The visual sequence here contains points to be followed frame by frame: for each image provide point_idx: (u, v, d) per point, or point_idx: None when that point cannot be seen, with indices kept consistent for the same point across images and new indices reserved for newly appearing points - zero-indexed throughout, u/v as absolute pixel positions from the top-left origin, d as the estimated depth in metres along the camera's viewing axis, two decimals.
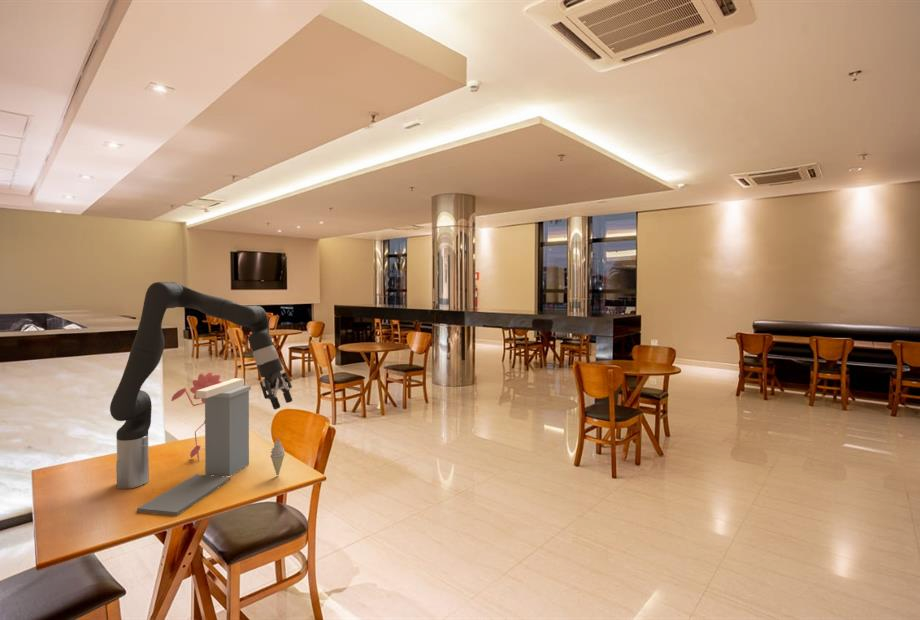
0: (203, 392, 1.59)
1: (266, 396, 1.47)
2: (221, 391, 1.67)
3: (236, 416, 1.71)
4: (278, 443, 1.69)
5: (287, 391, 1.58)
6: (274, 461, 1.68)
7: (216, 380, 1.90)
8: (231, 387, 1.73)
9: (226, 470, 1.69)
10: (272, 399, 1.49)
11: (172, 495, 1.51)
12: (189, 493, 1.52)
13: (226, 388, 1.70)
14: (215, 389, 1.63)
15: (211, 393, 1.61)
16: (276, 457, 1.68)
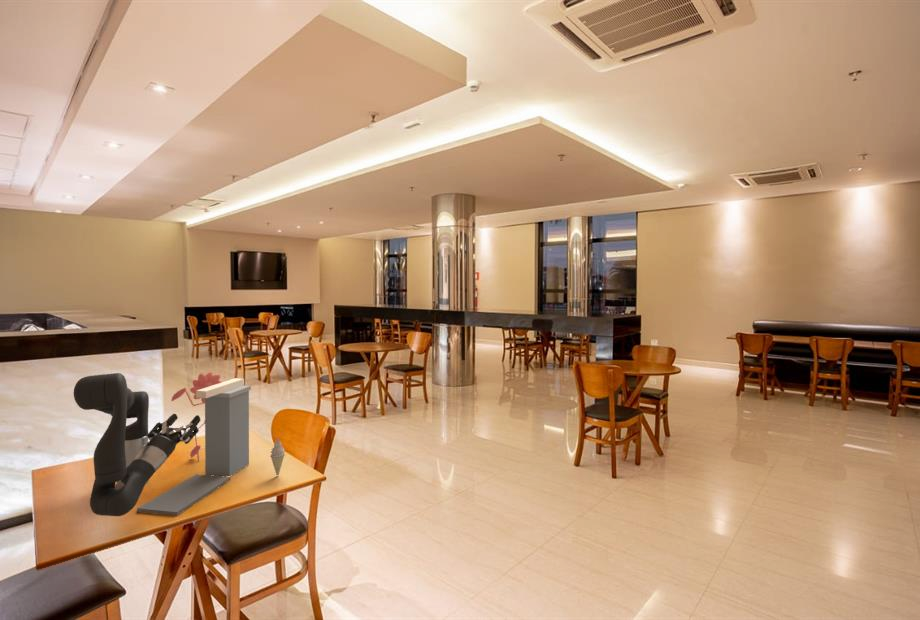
0: (203, 392, 1.59)
1: None
2: (221, 391, 1.67)
3: (236, 416, 1.71)
4: (278, 443, 1.69)
5: None
6: (274, 461, 1.68)
7: (216, 380, 1.90)
8: (231, 387, 1.73)
9: (226, 470, 1.69)
10: None
11: (172, 495, 1.51)
12: (189, 493, 1.52)
13: (226, 388, 1.70)
14: (215, 389, 1.63)
15: (211, 393, 1.61)
16: (276, 457, 1.68)
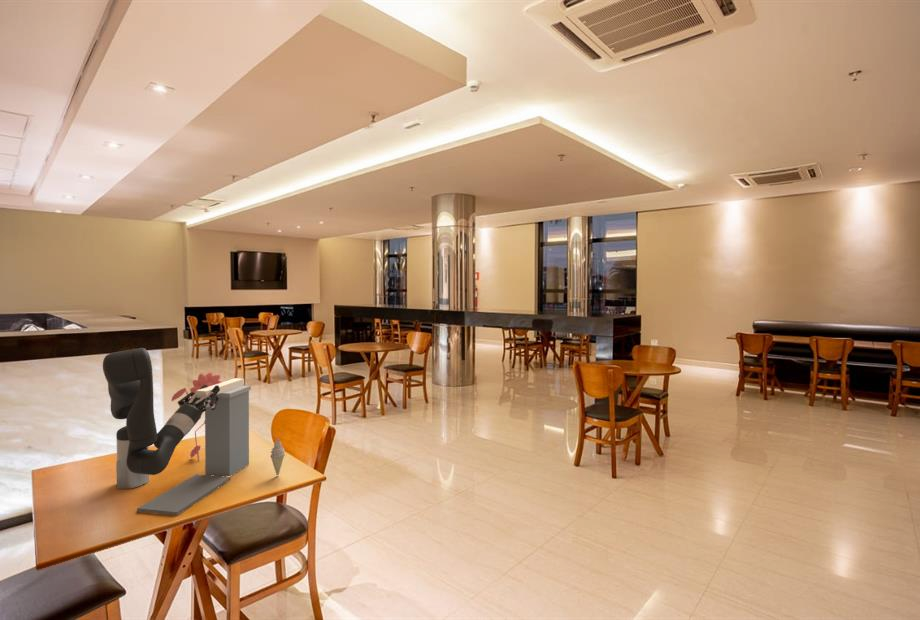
0: (203, 392, 1.59)
1: None
2: (221, 391, 1.67)
3: (236, 416, 1.71)
4: (278, 443, 1.69)
5: None
6: (274, 461, 1.68)
7: (216, 380, 1.90)
8: (231, 387, 1.73)
9: (226, 470, 1.69)
10: None
11: (172, 495, 1.51)
12: (189, 493, 1.52)
13: (226, 388, 1.70)
14: None
15: None
16: (276, 457, 1.68)
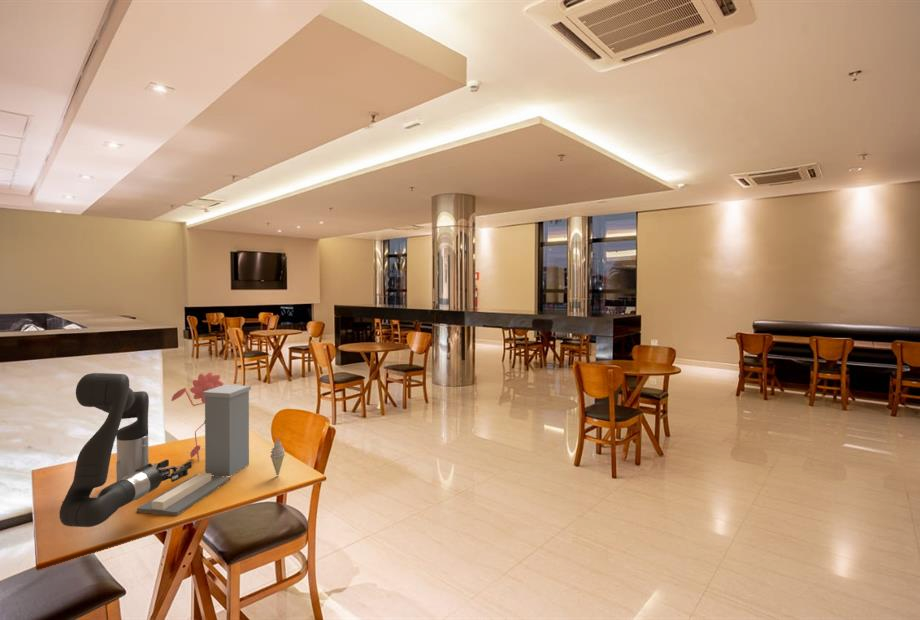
0: (159, 503, 1.41)
1: None
2: (182, 496, 1.49)
3: (236, 416, 1.71)
4: (278, 443, 1.69)
5: None
6: (274, 461, 1.68)
7: (216, 380, 1.90)
8: (195, 488, 1.55)
9: (226, 470, 1.69)
10: None
11: None
12: None
13: (189, 491, 1.52)
14: (175, 496, 1.46)
15: (170, 502, 1.44)
16: (276, 457, 1.68)
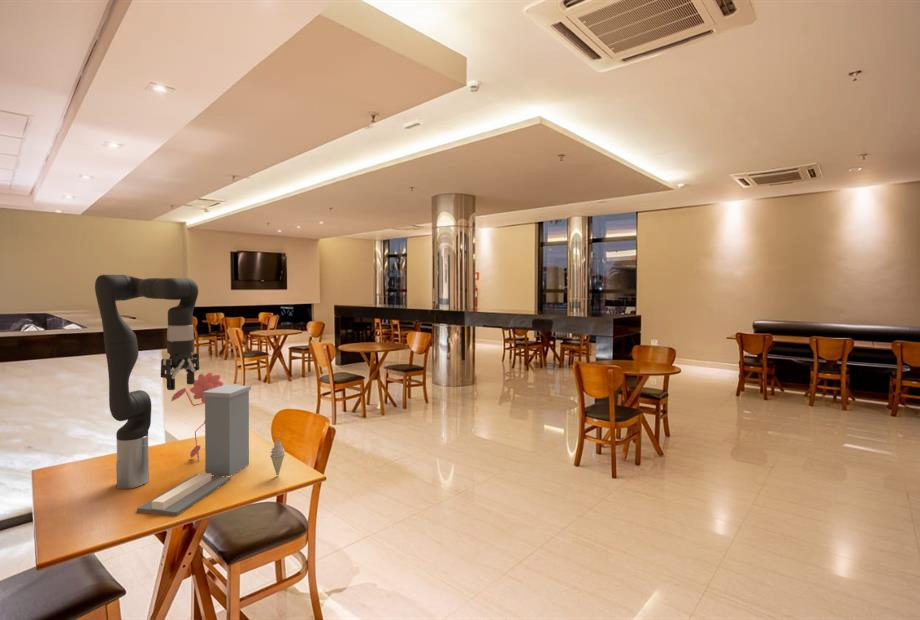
0: (159, 503, 1.41)
1: (162, 375, 1.42)
2: (182, 496, 1.49)
3: (236, 416, 1.71)
4: (278, 443, 1.69)
5: (191, 373, 1.53)
6: (274, 461, 1.68)
7: (216, 380, 1.90)
8: (195, 488, 1.55)
9: (226, 470, 1.69)
10: (168, 379, 1.44)
11: None
12: None
13: (189, 491, 1.52)
14: (175, 496, 1.46)
15: (170, 502, 1.44)
16: (276, 457, 1.68)
